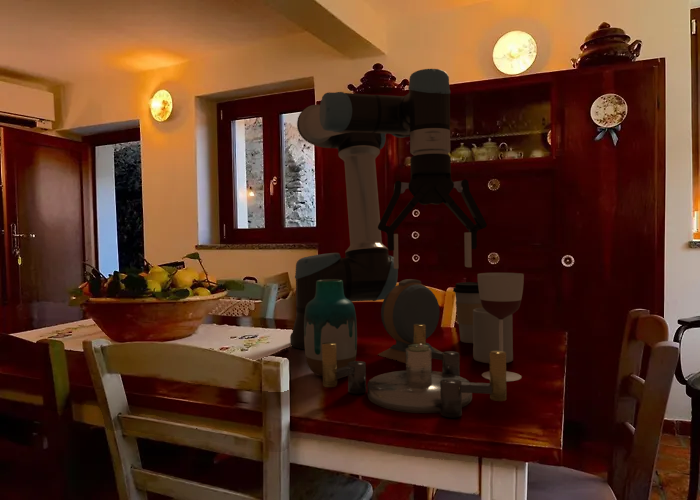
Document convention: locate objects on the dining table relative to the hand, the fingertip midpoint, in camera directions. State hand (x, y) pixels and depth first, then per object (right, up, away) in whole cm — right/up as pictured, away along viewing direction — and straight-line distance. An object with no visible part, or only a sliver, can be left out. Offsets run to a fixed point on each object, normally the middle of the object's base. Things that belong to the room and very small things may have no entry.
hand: (432, 267), depth 97 cm
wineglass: (+14, -22, +3) cm, 26 cm away
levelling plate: (-3, -22, -8) cm, 24 cm away
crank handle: (+1, -21, +3) cm, 22 cm away
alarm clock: (-1, -21, +22) cm, 31 cm away
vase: (-19, -22, +6) cm, 30 cm away
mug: (+17, -21, +19) cm, 33 cm away
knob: (-16, -22, -8) cm, 29 cm away
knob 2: (+3, -22, -19) cm, 29 cm away
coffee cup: (+16, -21, +36) cm, 45 cm away
